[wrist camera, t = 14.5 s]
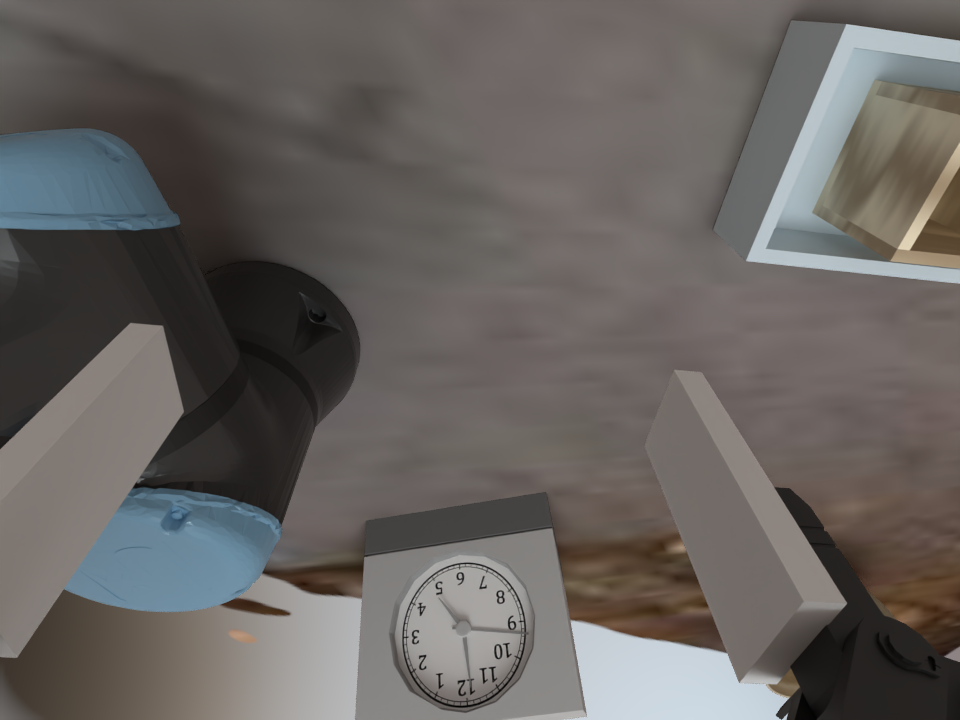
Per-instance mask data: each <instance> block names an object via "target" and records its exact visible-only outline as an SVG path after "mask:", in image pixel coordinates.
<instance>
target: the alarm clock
mask: <svg viewBox="0 0 960 720" xmlns="http://www.w3.org/2000/svg"><path fill="white" fill-rule="evenodd" d="M364 554H365V556H366V557H364V573H363V590H362V608H361V626H360V644H359V661H358V680H357V696H356V714H355V720H562V719H571V718H579V717H587V714H586V708H585V703H584V697H583V691H582V686H581V679H580V674H579V668H578V662H577V657H576V651H575V645H574V639H573V633H572V628H571V622H570V616H569V610H568V604H567V599H566V593H565V588H564V581H563V575H562V568H561V563H560V558H559V553H558V548H557V543H556V538H555V533H554V528H553V524H552V519H551V514H550V509H549V504H548V499H547V494H546V492H543V493H536V494H530V495H524V496H518V497H512V498H505V499H499V500H493V501H487V502H480V503H474V504H468V505H462V506H455V507H449V508H443V509H437V510H430V511H424V512H418V513H412V514H406V515H399V516H393V517H387V518H381V519H374V520H368V521H366V537H365V553H364Z"/></svg>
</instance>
